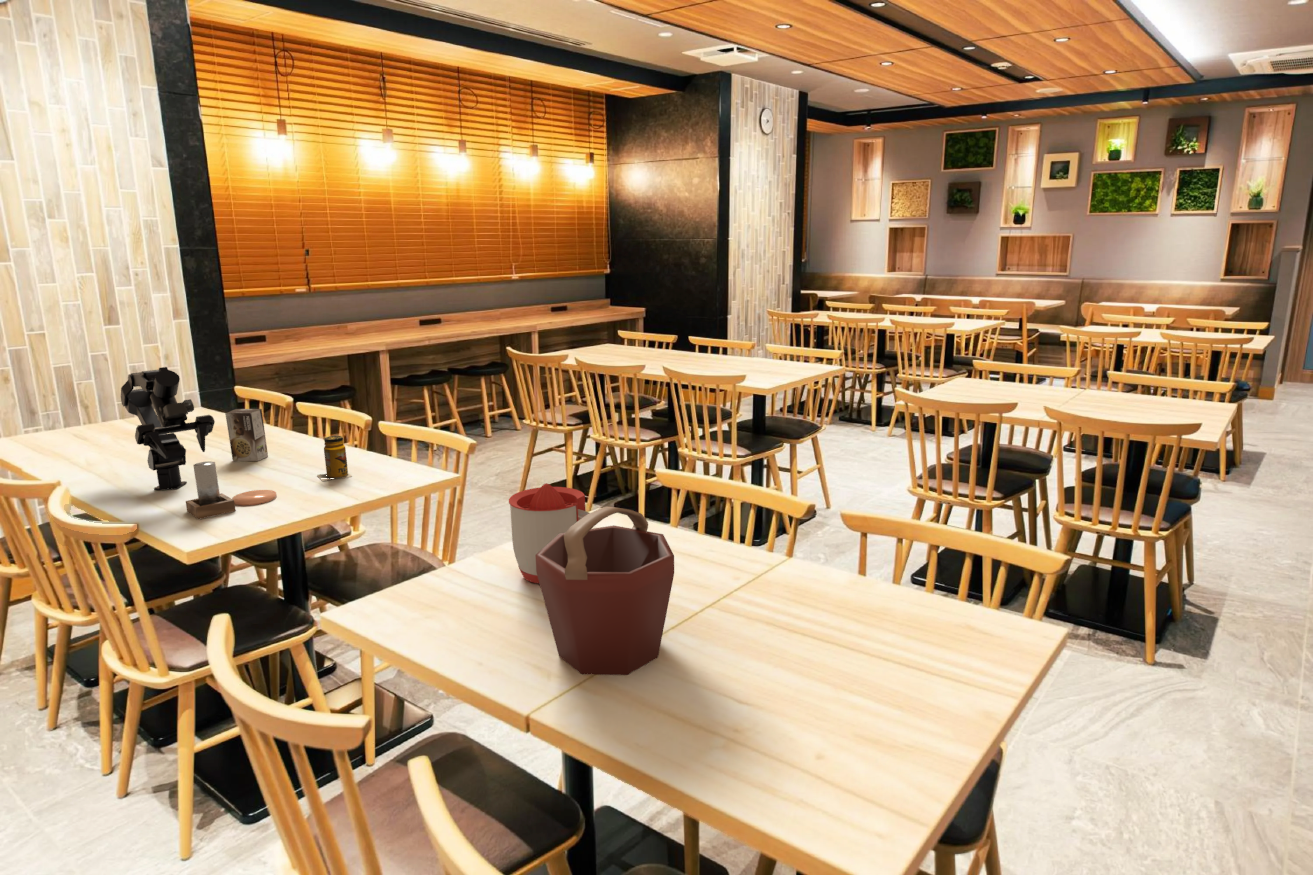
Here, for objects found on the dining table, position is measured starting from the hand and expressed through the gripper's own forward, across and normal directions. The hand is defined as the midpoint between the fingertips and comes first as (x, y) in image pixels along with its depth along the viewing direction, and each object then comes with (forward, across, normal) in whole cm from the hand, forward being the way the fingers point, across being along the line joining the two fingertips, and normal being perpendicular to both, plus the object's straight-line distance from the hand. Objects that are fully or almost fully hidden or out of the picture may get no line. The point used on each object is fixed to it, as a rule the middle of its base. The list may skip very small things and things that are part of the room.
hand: (185, 454), depth 224 cm
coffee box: (-14, +28, +35) cm, 47 cm away
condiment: (+14, +37, +5) cm, 40 cm away
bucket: (+109, +20, -98) cm, 148 cm away
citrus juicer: (+87, +35, -74) cm, 120 cm away
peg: (+19, 0, -1) cm, 19 cm away
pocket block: (+19, 0, -1) cm, 19 cm away
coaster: (+17, +12, +1) cm, 21 cm away
